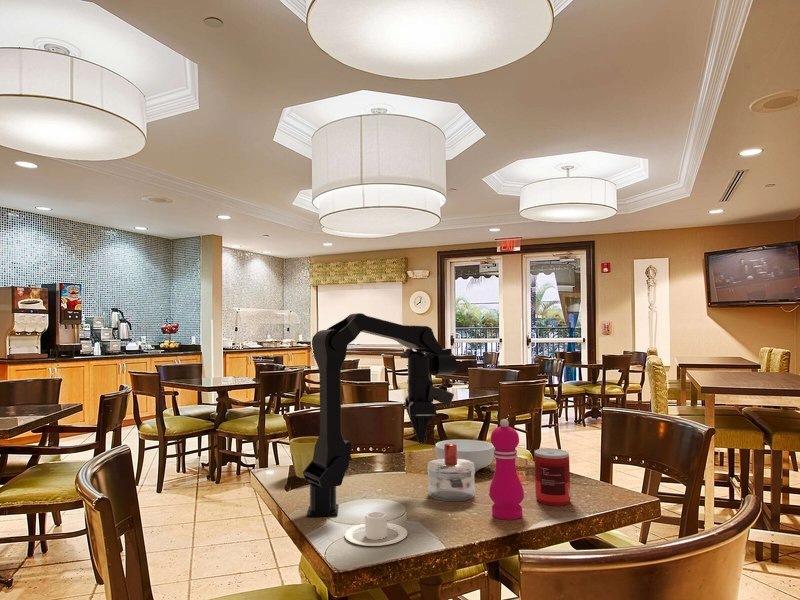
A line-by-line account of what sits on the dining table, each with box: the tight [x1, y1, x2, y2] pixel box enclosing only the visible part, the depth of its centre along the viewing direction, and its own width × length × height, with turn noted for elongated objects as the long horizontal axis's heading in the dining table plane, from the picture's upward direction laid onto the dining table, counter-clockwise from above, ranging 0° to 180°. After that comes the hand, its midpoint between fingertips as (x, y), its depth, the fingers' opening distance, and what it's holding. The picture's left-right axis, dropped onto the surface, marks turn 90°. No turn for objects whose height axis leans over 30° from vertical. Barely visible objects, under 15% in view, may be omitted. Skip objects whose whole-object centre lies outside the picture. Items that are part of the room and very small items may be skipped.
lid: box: [427, 444, 474, 474], centre depth 128 cm, size 11×11×6 cm
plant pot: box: [289, 436, 319, 479], centre depth 148 cm, size 10×10×10 cm
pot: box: [427, 468, 476, 502], centre depth 128 cm, size 16×11×6 cm
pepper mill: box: [488, 418, 525, 521], centre depth 113 cm, size 7×7×20 cm
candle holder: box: [344, 511, 408, 547], centre depth 102 cm, size 12×12×4 cm
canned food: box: [533, 447, 571, 507], centre depth 122 cm, size 8×8×11 cm
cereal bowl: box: [434, 439, 495, 473], centre depth 151 cm, size 17×17×7 cm
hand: (419, 439), depth 132 cm, fingers open, 9 cm apart
